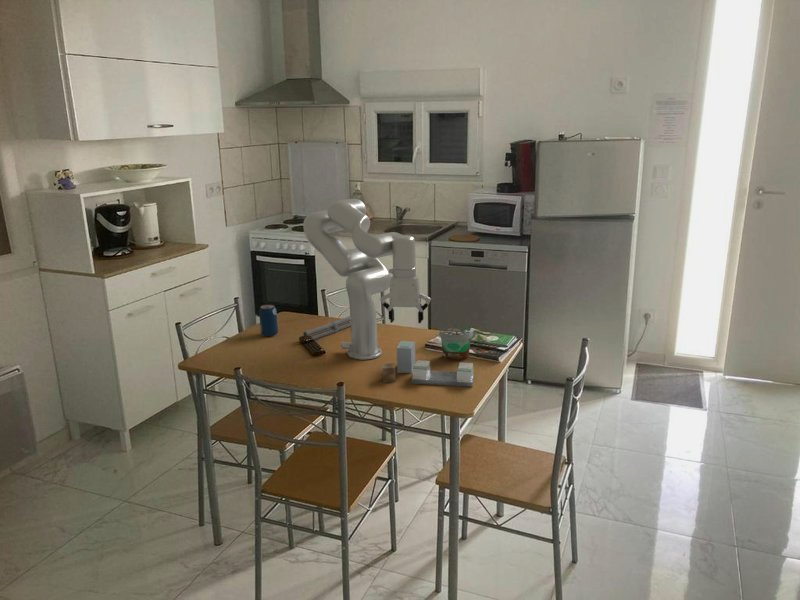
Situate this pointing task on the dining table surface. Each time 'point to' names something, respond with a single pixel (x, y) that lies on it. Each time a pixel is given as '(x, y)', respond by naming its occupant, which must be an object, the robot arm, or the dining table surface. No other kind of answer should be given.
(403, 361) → the grey-blue module block
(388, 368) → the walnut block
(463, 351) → the food container
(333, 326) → the metal rod assembly
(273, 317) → the soda can
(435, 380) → the rail
